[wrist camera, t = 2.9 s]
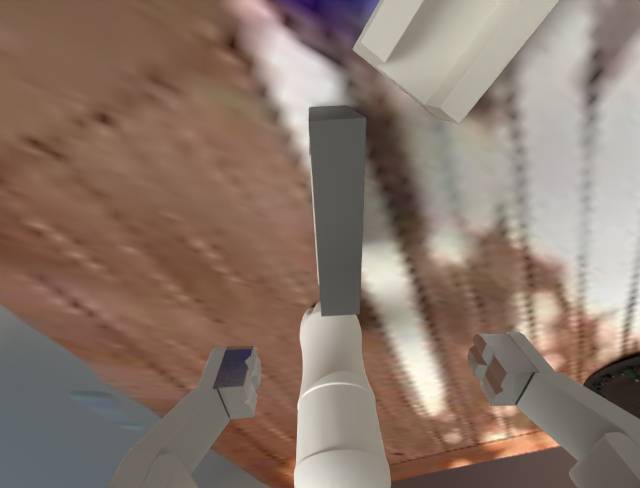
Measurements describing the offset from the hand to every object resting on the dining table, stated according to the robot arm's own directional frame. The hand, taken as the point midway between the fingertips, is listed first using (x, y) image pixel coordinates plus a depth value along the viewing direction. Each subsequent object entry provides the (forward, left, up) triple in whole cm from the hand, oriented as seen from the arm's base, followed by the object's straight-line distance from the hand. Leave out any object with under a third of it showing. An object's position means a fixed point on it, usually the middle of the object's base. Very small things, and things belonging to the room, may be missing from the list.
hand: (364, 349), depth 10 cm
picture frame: (0, 0, -19) cm, 19 cm away
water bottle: (+9, -14, -19) cm, 25 cm away
